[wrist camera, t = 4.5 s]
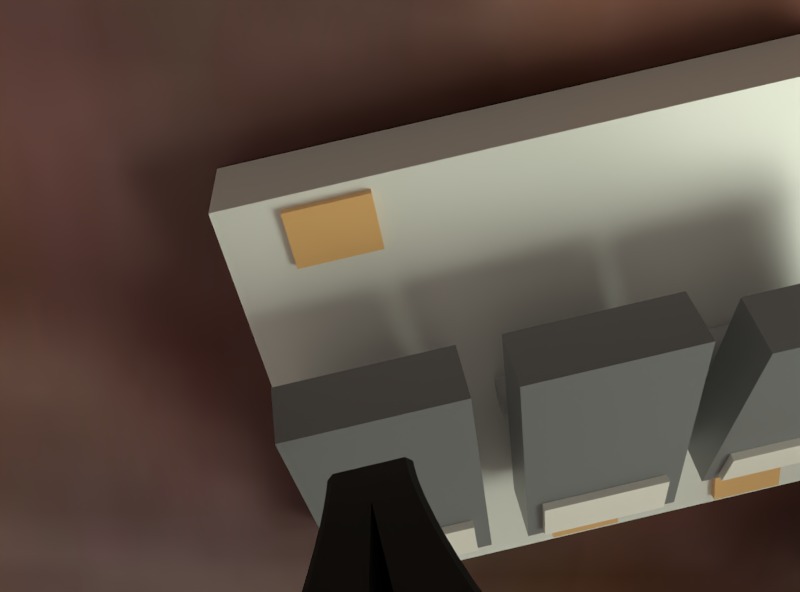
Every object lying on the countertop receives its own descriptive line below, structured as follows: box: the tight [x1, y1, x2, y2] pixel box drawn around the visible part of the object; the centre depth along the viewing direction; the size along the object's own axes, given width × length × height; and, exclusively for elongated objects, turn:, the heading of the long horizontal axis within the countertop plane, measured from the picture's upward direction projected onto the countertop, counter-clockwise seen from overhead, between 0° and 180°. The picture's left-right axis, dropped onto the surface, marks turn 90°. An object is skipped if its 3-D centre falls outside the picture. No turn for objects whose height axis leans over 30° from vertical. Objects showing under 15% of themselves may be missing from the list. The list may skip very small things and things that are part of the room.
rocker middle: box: [502, 291, 716, 536], centre depth 18 cm, size 4×7×2 cm, turn 11°
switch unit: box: [208, 34, 800, 560], centre depth 20 cm, size 15×13×4 cm
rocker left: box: [271, 345, 492, 555], centre depth 18 cm, size 4×7×2 cm, turn 11°
